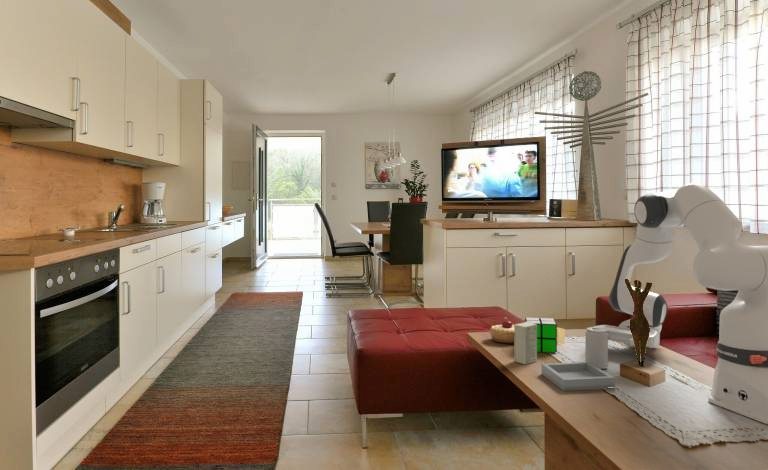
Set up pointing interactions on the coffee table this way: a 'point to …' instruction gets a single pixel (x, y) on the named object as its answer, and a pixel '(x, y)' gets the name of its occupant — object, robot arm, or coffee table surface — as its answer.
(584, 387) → the tray
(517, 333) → the skincare box
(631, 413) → the coffee table surface
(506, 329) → the pastry
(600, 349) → the beverage can
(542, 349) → the puzzle cube
